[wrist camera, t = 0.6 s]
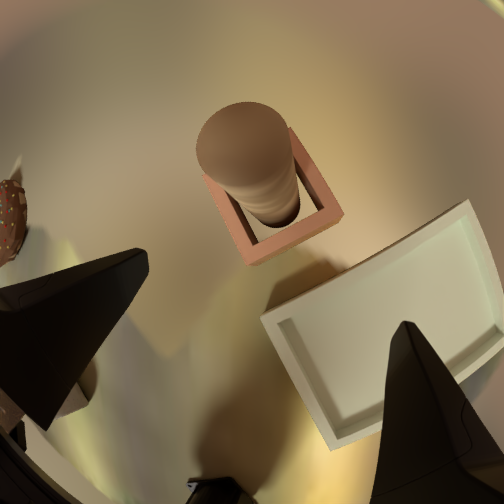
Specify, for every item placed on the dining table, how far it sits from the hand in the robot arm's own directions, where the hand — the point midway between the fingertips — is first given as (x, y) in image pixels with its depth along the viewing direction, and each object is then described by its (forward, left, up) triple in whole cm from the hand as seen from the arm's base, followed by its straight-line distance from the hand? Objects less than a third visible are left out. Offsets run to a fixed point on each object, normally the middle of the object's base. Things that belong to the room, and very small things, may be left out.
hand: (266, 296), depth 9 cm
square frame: (+2, +6, -14) cm, 15 cm away
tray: (+7, -8, -14) cm, 18 cm away
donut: (-35, +26, -15) cm, 45 cm away
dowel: (+2, +6, -14) cm, 15 cm away
